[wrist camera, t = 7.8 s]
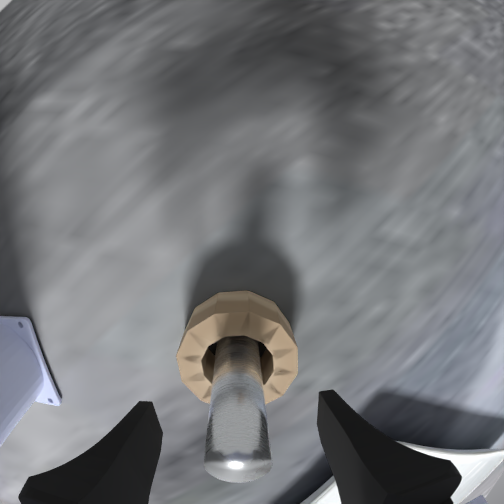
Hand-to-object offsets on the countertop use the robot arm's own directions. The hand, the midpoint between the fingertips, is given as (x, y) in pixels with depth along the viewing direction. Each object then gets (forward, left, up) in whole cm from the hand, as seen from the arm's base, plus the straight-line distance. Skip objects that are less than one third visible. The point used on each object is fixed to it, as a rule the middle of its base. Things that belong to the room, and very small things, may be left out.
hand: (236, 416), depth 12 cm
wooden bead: (0, 0, -7) cm, 7 cm away
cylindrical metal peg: (0, 0, -7) cm, 7 cm away
